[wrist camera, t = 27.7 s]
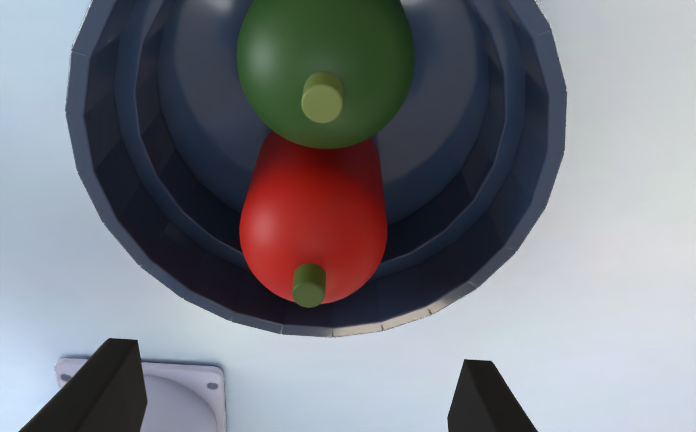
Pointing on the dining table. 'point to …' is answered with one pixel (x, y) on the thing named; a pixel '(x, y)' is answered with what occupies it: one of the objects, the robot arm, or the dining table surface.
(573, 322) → the dining table surface
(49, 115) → the dining table surface
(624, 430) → the dining table surface
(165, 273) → the shallow round dish
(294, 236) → the red pepper
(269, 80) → the green pepper
